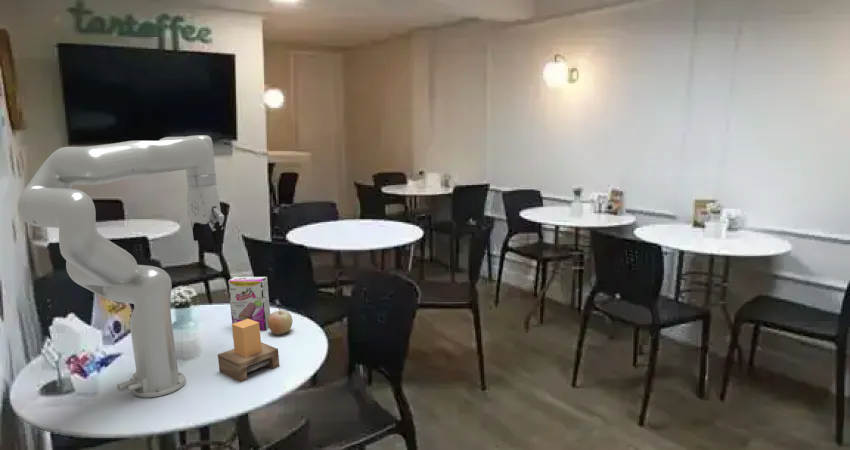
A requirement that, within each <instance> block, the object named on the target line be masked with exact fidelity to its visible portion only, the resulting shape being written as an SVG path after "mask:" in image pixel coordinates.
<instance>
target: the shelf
mask: <svg viewBox="0 0 850 450" xmlns="http://www.w3.org/2000/svg"><path fill="white" fill-rule="evenodd" d="M261 348H262V351H260V352H258V353H255V354H253V355H250V356H247V357H244V356H242V355H239V354H237V353H235V350H234V348H232V349H229V350H227V351H224V352H221V353H218V354H217V360H218V369H219V370H218V371H219V373H221V374H222V375H224V376H227V377H229V378H231V379H232V380H235V381H237V382H239V383H243V382H246V381H248V374H247V373H249V372H252V371H255V370H258V369H260V368H262V367H265V366H266V367H268V368H271V369H272V370H273V369H277V368H279V367H280V365H281V364H280V358H279V357H280V355H279V348H277V347H274V346H272V345H269V344H266V343H264V342H262V341H261Z"/></svg>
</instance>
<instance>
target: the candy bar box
mask: <svg viewBox="0 0 850 450" xmlns="http://www.w3.org/2000/svg"><path fill="white" fill-rule="evenodd" d="M268 281H269V280H268V277H267V276H233V277H231V278H230V279H229V280H228V282H227V284H228V295H229V296H228V297H229V303H230V304H229V305H230V314H231V315H230V317H231V325H232V324H234V323H237V322H240V321H243V320H246V319H251V320H253V321H256V322H259V327H260V331H267V330H268V329H270V328H269V326H268V317H269V315H270V314H271V308H270V297H269V295H270V293H269V282H268Z"/></svg>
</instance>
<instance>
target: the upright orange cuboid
mask: <svg viewBox="0 0 850 450" xmlns="http://www.w3.org/2000/svg"><path fill="white" fill-rule="evenodd" d="M231 329H232V339H233V349H234V350H235V353H237V354H239V355H242V356H244V357H247V356H250V355H253V354H255V353H258V352H260V351H262V348H261V342H262V341H261V330H260V327H259V322H256V321H253V320H251V319H246V320H243V321H240V322H237V323H234V324H232V323H231Z"/></svg>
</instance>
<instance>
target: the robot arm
mask: <svg viewBox="0 0 850 450" xmlns="http://www.w3.org/2000/svg"><path fill="white" fill-rule="evenodd" d="M213 146H214V144H213V140H212V137H211V136H210V135H206V134H205V135H204V134H203V135H200V134H199V135H188V136H165V137H163V138H160V139H159V140H142V139H141V140H127V141H121V142H115V143H105V144H99V145H89V146H64V147H60V148H58V149H56V150H55V151H54V152H52V153H51V154H50V156H48V157H47V158H46V160H45V161H44V162H43V164H42V165H41V166H40V167H39V169H37V171H36V172H35V174H34V176H33V177H32V178H31V180H30V181H29V182H28V183H27V185H26V187H24V189H23V191H22V192H21V193H20V196H19V197H18V201H17V212H18V215H19V217H20V219H21V220H23V221H24V222H25V223H26V224H28V225H31V226H34V227H39V228H54V229H55V228H56V229H58V243H59V244H58V245H59V252H60V255H61V256H62V258H63V259H64V260H65V261H66V262H65V268H66V272H67V274H68V276H69V277H70V279H71V280H72V281H73V282H74V283H76V284H77V285H79V286H81V287H82V288H85V289H87V291H88V290H89V291H90V292H92V293H93V294H96V295H98V296H100V297H101V298H104V299H106V300H108V301H112V302H116V303H117V302H118V303H126V304H131V305H132V304H133V310H132V313H131V315H130V317H129V330H130V335H131V342H132V349H133V351H132V352H133V357H134V364H135V370H136V372H134V373H132V377H131V378H129V380H126V381H123V382H120V383H118V384H116V388H117V391H118V392H123V391H125V390H127V391H128V392H132V394H133V395H135V396H136V397H139V398H157V397H161V396H165V395H169V394H171V393H174V392H176V391H178V390H179V389H181V388H182V387H183V386H184V385H185V383H186V375H185V374H184V373H182V372H180V371H179V369H178V361H177V353H176V345H175V336H174V328H173V323H172V322H173V321H172V320H173V319H172V312H171V301H172V300H171V295H172V279H171V276H170V275H169V273H168V272H167V271H166V270H164V269H163V268H160V267H157V266H153V265H145V264H138V262H137V260H136V258H135V257H134V256H133V255H132V254H131V253H129V252H128V251H127V250H126V249H124V248H122V246H121V247H120V246H119V245H117V244H116V243H115V242H112V241H111V240H110V239H108V238H106V237H105V236H103V235H102V234H100V232H99V231H98V229H97V222H96V220H97V219H96V217H97V216H96V207H95V203H94V201H93V199H92V198H91V197H90V195H88V194H87V193H86V192H84V191H82V190H79V189H75V188H72V187H73V186H75V185H76V186H77V185H78V186H79V185H83V186H84V185H85V186H95V185H96V186H97V185H102V184H107V183H113V182H117V181H122V180H128V179H132V178H139V177H145V176H146V177H147V176H151V175H158V174H164V173H171V172H177V171H184V170H185V174H186V183H187V191H186V200H187V201H186V203H187V217H188V220H189V221H190V222H191V223H190V226H191V228H192V236H193V241H195V242H198V241H201V240H202V241H203V240H205V239H206V234H205V227H204V226H205V225H207V224H208V225H209V227H210V229H211V230H210V237H211V238H210V239H211V245H212V246H218V245H222V244H224V235H223V234H224V233H223V229H224V224H225V222H224V221H225V215H224V214H223V212H221V210H222V209H221V204H220V203H221V202H220V197H219V193H218V188H217V185H218V183H217V176H216V166H215V165H216V164H215V155H214V147H213Z"/></svg>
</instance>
